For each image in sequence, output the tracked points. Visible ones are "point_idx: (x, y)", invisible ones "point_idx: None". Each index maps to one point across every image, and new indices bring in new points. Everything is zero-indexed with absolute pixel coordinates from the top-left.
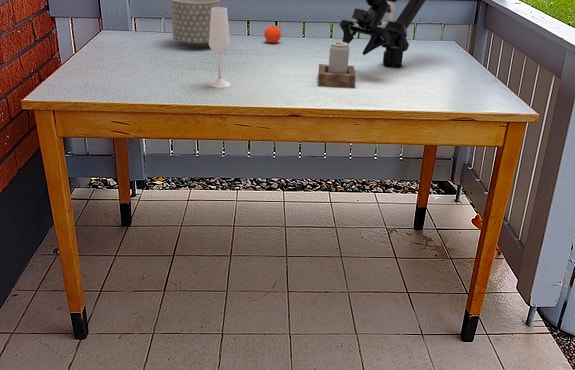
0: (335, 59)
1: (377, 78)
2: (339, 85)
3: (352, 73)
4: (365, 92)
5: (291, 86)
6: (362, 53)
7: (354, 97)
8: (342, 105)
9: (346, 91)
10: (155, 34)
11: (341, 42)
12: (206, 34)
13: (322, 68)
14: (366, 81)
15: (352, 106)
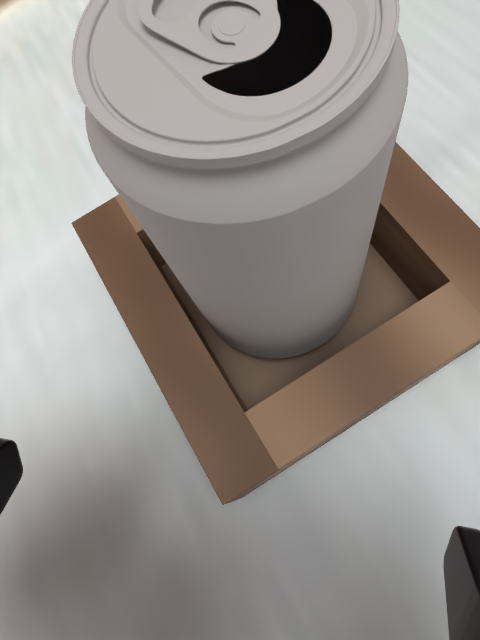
0: (239, 91)
1: (51, 631)
2: None
3: (120, 261)
4: (23, 238)
5: (441, 26)
6: (13, 441)
7: (48, 128)
8: (56, 11)
9: None
10: None
11: (267, 118)
12: None
13: (409, 200)
14: (100, 468)
15: (13, 31)
